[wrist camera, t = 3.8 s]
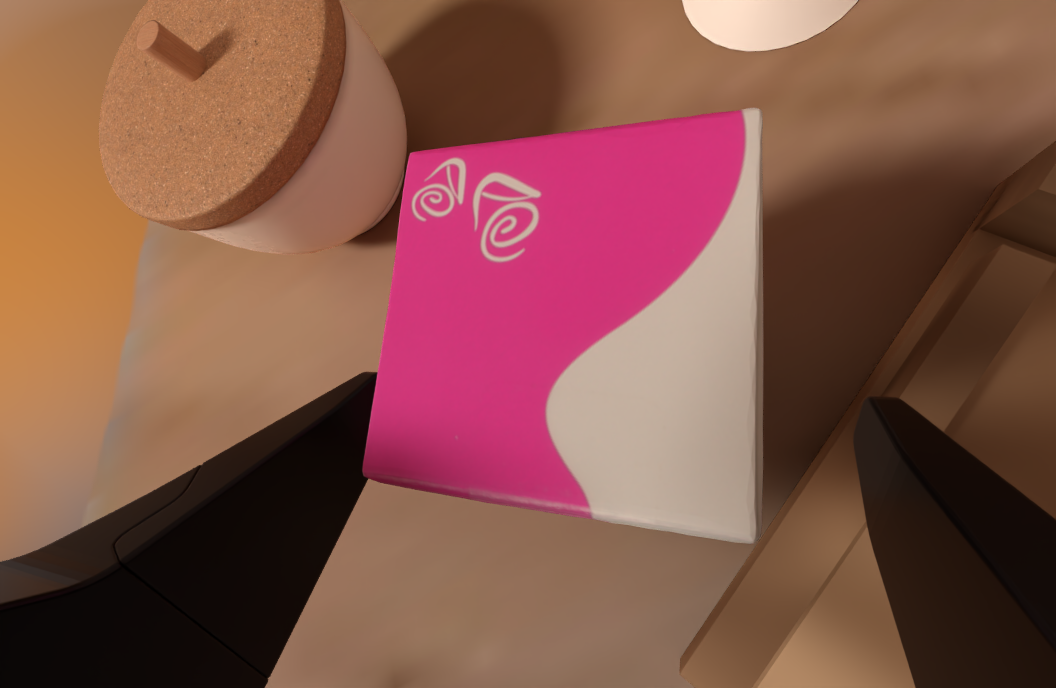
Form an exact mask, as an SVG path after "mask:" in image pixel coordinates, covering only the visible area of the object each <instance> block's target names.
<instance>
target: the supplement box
mask: <svg viewBox="0 0 1056 688" xmlns="http://www.w3.org/2000/svg"><path fill="white" fill-rule="evenodd" d="M762 129H763V118H762V111H761V109H758V108H748V109H743V110H738V111H730V112H719V113H710V114H702V115H696V116H691V117H683V118H672V119H664V120H656V121H649V122H641V123H634V124H626V125H618V126H611V127H603V128H595V129H588V130H580V131H572V132H565V133H557V134H550V135H543V136H536V137H527V138H517V139H511V140H503V141H495V142H487V143H479V144H470V145H462V146H455V147H447V148H439V149H431V150H423V151H417V152H412V153H410V156H409V160H408V165H407V170H406V175H405V182H404V189H403V197H402V203H401V210H400V218H399V227H398V235H397V245H396V255H395V263H394V269H393V277H392V285H391V291H390V297H389V306H388V312H387V317H386V323H385V330H384V336H383V342H382V349H381V355H380V362H379V368H378V374H377V380H376V387H375V393H374V399H373V405H372V411H371V418H370V424H369V430H368V436H367V442H366V449H365V455H364V461H363V469H362V472H363V476H365V477H367V478H369V479H372V480H374V481H377V482H380V483H385V484H390V485H395V486H400V487H405V488H410V489H415V490H421V491H426V492H432V493H438V494H443V495H449V496H455V497H460V498H466V499H471V500H476V501H481V502H486V503H493V504H499V505H506V506H513V507H519V508H525V509H531V510H538V511H544V512H550V513H556V514H562V515H568V516H574V517H581V518H588V519H595V520H601V521H606V522H610V523H617V524H625V525H631V526H637V527H642V528H648V529H654V530H662V531H669V532H675V533H680V534H685V535H690V536H697V537H705V538H712V539H718V540H724V541H730V542H737V543H748V544H753V543H755V542H756V541H757V540H758V539H759V538H760V535H761V529H762V491H763V199H762Z"/></svg>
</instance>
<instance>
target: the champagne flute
mask: <svg viewBox="0 0 1056 688" xmlns="http://www.w3.org/2000/svg"><path fill="white" fill-rule="evenodd" d="M682 1H683V5H684V9H685V13H686V15H687V17H688V19H689V20H690V22H691V24H692V25H693V27H694V28H695V29H696V30H697V31H698V32H699V33H700V34H701V35H702V36H704V37H706V38H707V39H709V40H710V41H712V42H713V43H715V44H718V45H721V46H724V47H727V48H730V49H736V50H743V51H767V50H772V49H778V48H783V47H787V46H790V45H793V44H796V43H799V42H802V41H804V40H807V39H809V38H811V37H813V36H814V35H816V34H818V33H820V32H822V31H824V30H826V29H827V28H828V27H830V26H831V25H832V24H834V23H835V22H837V21H838V20H839V19H841V18H842V17H843V16H844V15H845V14H846V13H847V12H848V11H849V10H850V9H851V8H852V7H853V6H854V5H855V4H856V3H857V1H858V0H682Z"/></svg>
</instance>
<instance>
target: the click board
mask: <svg viewBox="0 0 1056 688" xmlns="http://www.w3.org/2000/svg"><path fill="white" fill-rule="evenodd" d="M869 396H886V397H897V398H900V399H902V400H903V401H905V402H906V403H907V404H908V405H910V406H911V407H912V408H914V409H915V410H916V411H917V412H919V413H920V414H921V415H923V416H924V417H925V418H926V419H928V420H929V421H930V422H932V423H933V424H934V425H935V426H937V427H938V428H939V429H941V430H942V431H943V432H944V433H946V434H947V435H948V436H950V437H951V438H952V439H953V440H955V441H956V442H957V443H959V444H960V445H961V446H962V447H964V448H965V449H966V450H968V451H969V452H970V453H971V454H973V455H974V456H975V457H977V458H978V459H979V460H980V461H982V462H983V463H984V464H986V465H987V466H988V467H989V468H991V469H992V470H993V471H995V472H996V473H997V474H999V475H1000V476H1001V477H1002V478H1004V479H1005V480H1006V481H1008V482H1009V483H1010V484H1011V485H1013V486H1014V487H1015V488H1017V489H1018V490H1019V491H1020V492H1022V493H1023V494H1024V495H1026V496H1027V497H1028V498H1029V499H1031V500H1032V501H1033V502H1035V503H1036V504H1037V505H1038V506H1040V507H1041V508H1042V509H1044V510H1045V511H1046V512H1047V513H1049V514H1050V515H1051V516H1053V517H1054V518H1055V519H1056V141H1055V142H1054V143H1053V144H1051V145H1050V146H1049V147H1047V148H1046V149H1045V150H1043V151H1042V152H1041V153H1040V154H1038V155H1037V156H1036V157H1034V158H1033V159H1032V160H1030V161H1029V162H1028V163H1026V164H1025V165H1024V166H1023V167H1021V168H1020V169H1019V170H1017V171H1016V172H1015V173H1013V174H1012V175H1011V176H1010V177H1008V178H1007V179H1006V180H1004V181H1003V182H1002V183H1000V184H999V185H998V186H997V187H996V189H995V190H994V192H993V193H992V195H991V196H990V198H989V199H988V201H987V202H986V204H985V205H984V207H983V208H982V210H981V211H980V213H979V214H978V216H977V217H976V219H975V220H974V222H973V223H972V225H971V226H970V228H969V229H968V231H967V232H966V234H965V235H964V237H963V238H962V240H961V241H960V243H959V244H958V246H957V247H956V248H955V250H954V251H953V253H952V254H951V256H950V257H949V259H948V260H947V262H946V263H945V265H944V266H943V268H942V269H941V271H940V272H939V274H938V275H937V277H936V278H935V280H934V281H933V283H932V284H931V286H930V287H929V289H928V290H927V292H926V293H925V295H924V296H923V298H922V299H921V301H920V302H919V304H918V305H917V307H916V308H915V310H914V311H913V313H912V314H911V316H910V317H909V319H908V320H907V322H906V323H905V325H904V326H903V328H902V329H901V330H900V332H899V333H898V335H897V336H896V338H895V339H894V341H893V342H892V344H891V345H890V347H889V348H888V350H887V351H886V353H885V354H884V356H883V357H882V359H881V360H880V362H879V363H878V365H877V366H876V368H875V369H874V371H873V372H872V374H871V375H870V377H869V378H868V380H867V381H866V383H865V384H864V386H863V387H862V389H861V390H860V392H859V393H858V395H857V396H856V398H855V399H854V401H853V402H852V404H851V405H850V407H849V408H848V409H847V411H846V412H845V414H844V415H843V417H842V418H841V420H840V421H839V423H838V424H837V426H836V427H835V429H834V430H833V432H832V433H831V435H830V436H829V438H828V439H827V441H826V442H825V444H824V445H823V447H822V448H821V450H820V451H819V453H818V454H817V456H816V457H815V459H814V460H813V462H812V463H811V465H810V466H809V468H808V469H807V471H806V472H805V474H804V475H803V477H802V478H801V480H800V481H799V483H798V484H797V486H796V487H795V489H794V490H793V491H792V493H791V494H790V496H789V497H788V499H787V500H786V502H785V503H784V505H783V506H782V508H781V509H780V511H779V512H778V514H777V515H776V517H775V518H774V520H773V521H772V523H771V524H770V526H769V527H768V529H767V530H766V532H765V533H764V535H763V536H762V538H761V539H760V541H759V542H758V544H757V545H756V547H755V548H754V550H753V551H752V553H751V554H750V556H749V557H748V559H747V560H746V562H745V563H744V565H743V566H742V568H741V569H740V571H739V572H738V573H737V575H736V576H735V578H734V579H733V581H732V582H731V584H730V585H729V587H728V588H727V590H726V591H725V593H724V594H723V596H722V597H721V599H720V600H719V602H718V603H717V605H716V606H715V608H714V609H713V611H712V612H711V614H710V615H709V617H708V618H707V620H706V621H705V623H704V624H703V626H702V627H701V629H700V630H699V632H698V633H697V635H696V636H695V638H694V639H693V641H692V642H691V644H690V645H689V647H688V648H687V650H686V651H685V653H684V654H683V655H682V657H681V658H680V675H681V676H682V677H683V678H684V679H686V680H687V681H688V682H689V683H690V684H691V685H693V686H694V687H695V688H915V685H914V682H913V678H912V675H911V672H910V669H909V665H908V662H907V659H906V656H905V652H904V649H903V646H902V643H901V639H900V636H899V633H898V630H897V626H896V623H895V620H894V617H893V613H892V610H891V607H890V604H889V600H888V597H887V594H886V591H885V587H884V584H883V581H882V578H881V574H880V571H879V568H878V565H877V561H876V558H875V555H874V552H873V548H872V544H871V541H870V537H869V532H868V527H867V522H866V516H865V511H864V505H863V499H862V493H861V487H860V481H859V475H858V469H857V463H856V457H855V452H854V445H853V436H854V430H855V427H856V424H857V421H858V417H859V414H860V411H861V408H862V404H863V402H864V400H865V399H866V398H867V397H869Z"/></svg>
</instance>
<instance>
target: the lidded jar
mask: <svg viewBox="0 0 1056 688" xmlns="http://www.w3.org/2000/svg"><path fill="white" fill-rule="evenodd" d="M99 141H100V152H101V158H102V164H103V167H104V170H105V173H106V175H107V178H108V181H109V182H110V184H111V186H112V188H113V189H114V191H115V193H116V195H117V196H118V197H119V198H120V199H121V200H122V201H123V202H124V203H125V204H126V205H127V206H128V207H129V209H131V210H132V211H134V212H136V213H137V214H139V215H140V216H142V217H144V218H147V219H149V220H152V221H155V222H158V223H160V224H163V225H167V226H170V227H173V228H176V229H179V230H188V231H191V232H194V233H196V234H199V235H202V236H205V237H208V238H211V239H214V240H217V241H220V242H223V243H226V244H230V245H233V246H237V247H241V248H245V249H249V250H254V251H261V252H268V253H277V254H287V255H288V254H305V253H315V252H319V251H322V250H326V249H329V248H333V247H336V246H339V245H341V244H343V243H345V242H347V241H349V240H351V239H353V238H354V237H356V236H358V235H360V234H362V233H364V232H367V231H368V230H370V229H371V228H373V227H374V226H375V225H376V224H378V223H379V222H380V221H381V220H382V219H383V218H384V217H385V216H386V214H387V213H388V212H389V211H390V209H391V208H392V206H393V205H394V203H395V201H396V199H397V197H398V195H399V193H400V190H401V187H402V183H403V179H404V172H405V160H406V152H407V130H406V119H405V114H404V110H403V106H402V102H401V99H400V96H399V92H398V89H397V87H396V85H395V82H394V80H393V78H392V76H391V74H390V72H389V70H388V68H387V66H386V64H385V62H384V60H383V58H382V56H381V54H380V53H379V51H378V50H377V48H376V47H375V45H374V44H373V42H372V40H371V39H370V37H369V36H368V34H367V33H366V32H365V30H364V29H363V28H362V26H361V25H360V23H359V22H358V21H357V20H356V18H355V17H354V16H353V14H352V13H351V12H350V10H349V9H348V8H347V7H346V5H345V4H344V3H343V2H342V0H148V1H147V3H146V4H145V5H144V7H143V8H142V9H141V11H140V12H139V13H138V15H137V17H136V18H135V20H134V22H133V24H132V25H131V27H130V29H129V30H128V32H127V34H126V36H125V38H124V40H123V42H122V44H121V46H120V48H119V49H118V52H117V54H116V57H115V60H114V63H113V65H112V68H111V71H110V74H109V77H108V80H107V83H106V87H105V90H104V95H103V100H102V106H101V113H100V124H99Z"/></svg>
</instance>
